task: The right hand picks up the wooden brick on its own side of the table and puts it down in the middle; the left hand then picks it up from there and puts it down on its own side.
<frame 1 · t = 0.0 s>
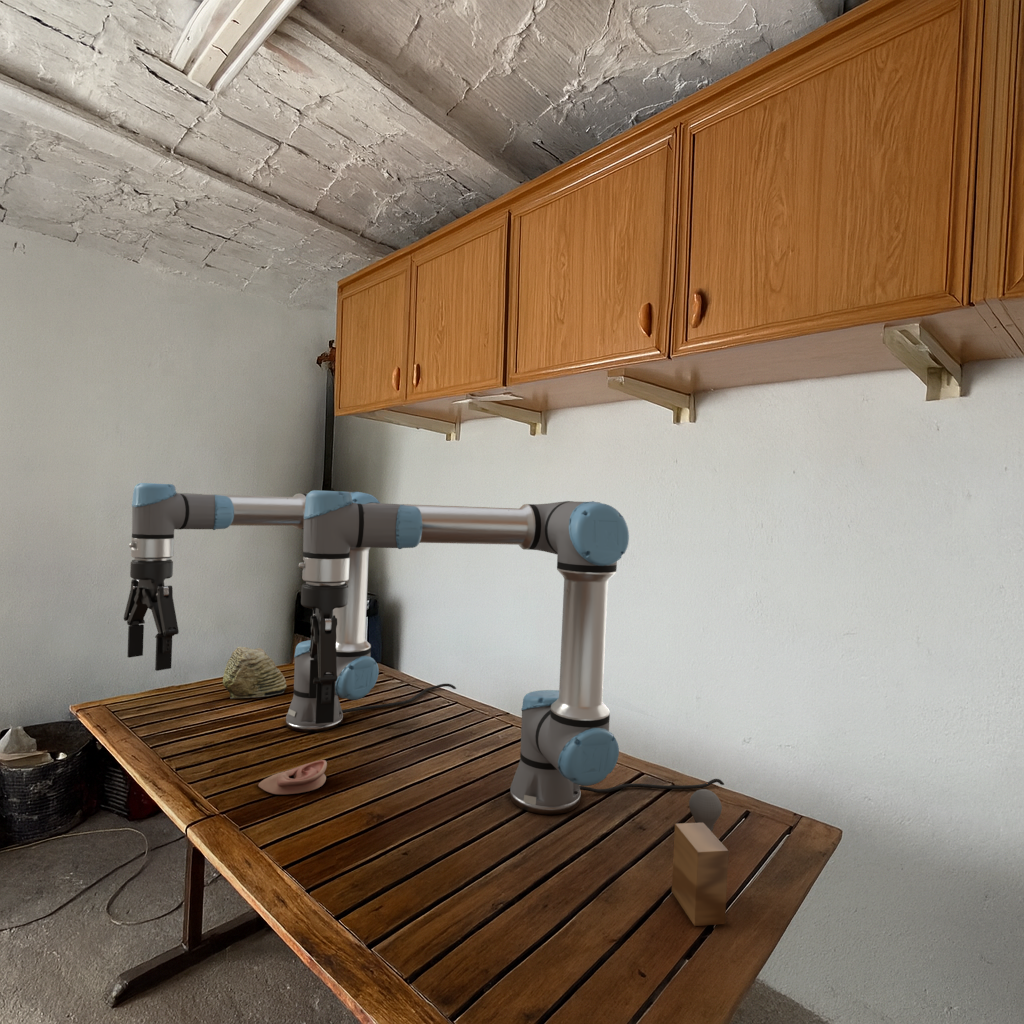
left hand: (148, 662, 129), 28 cm above the table, tool pointing down, fingers open, 13 cm apart
right hand: (320, 708, 106), 28 cm above the table, tool pointing down, fingers open, 13 cm apart
brick: (697, 907, 102), on the table
fossil: (254, 694, 198), on the table
anatomical model: (292, 784, 139), on the table
light bulb: (703, 842, 122), on the table
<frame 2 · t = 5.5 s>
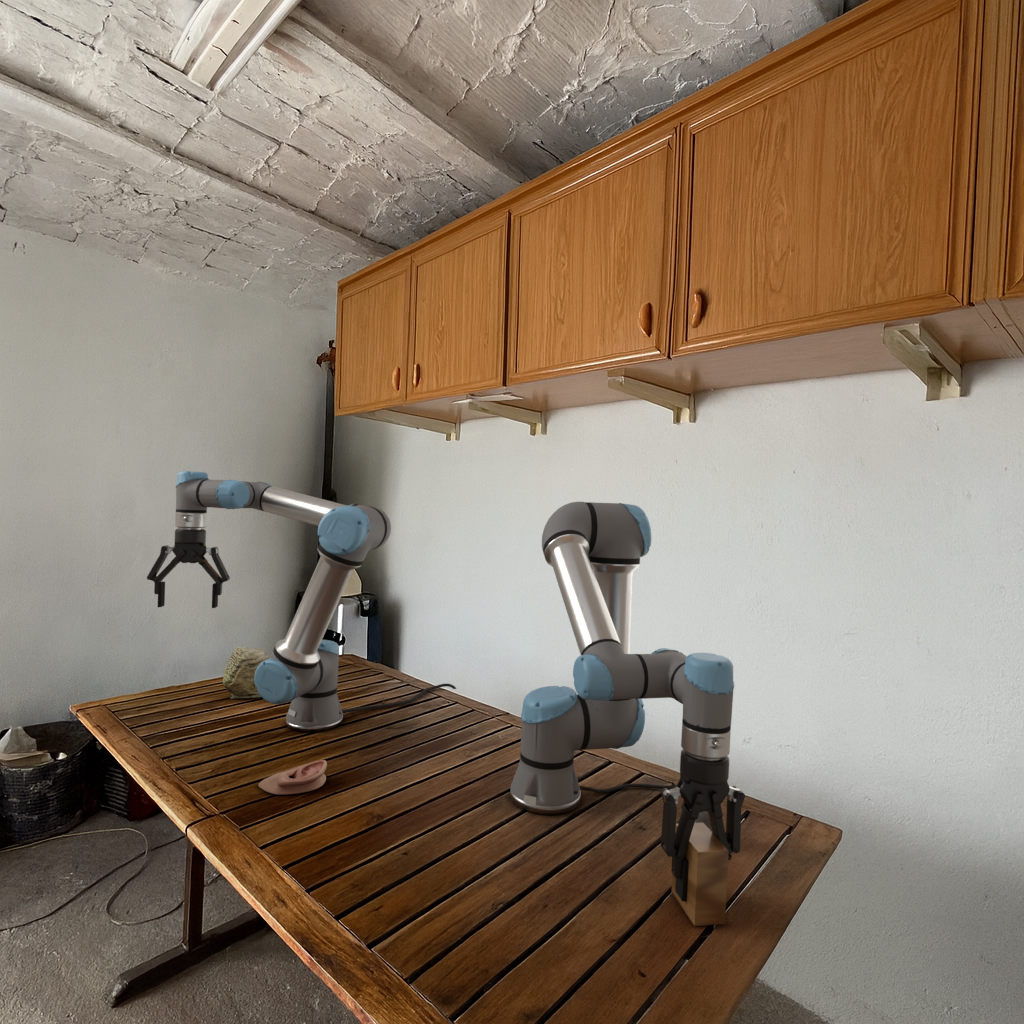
left hand: (188, 607, 171), 32 cm above the table, tool pointing down, fingers open, 13 cm apart
right hand: (697, 894, 102), 2 cm above the table, tool pointing down, fingers closed on brick, 5 cm apart
brick: (697, 907, 102), on the table, touching right hand
everything else where it was.
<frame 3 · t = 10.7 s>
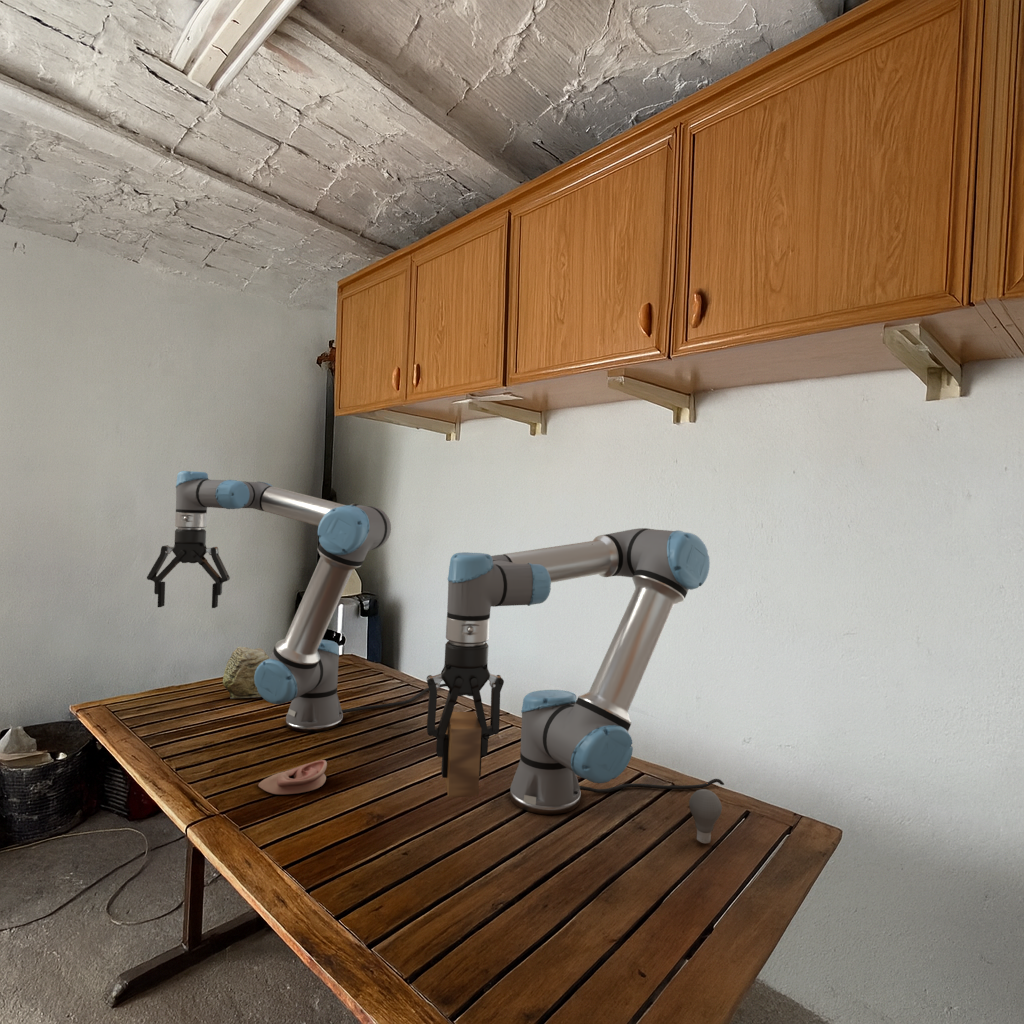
left hand: (188, 607, 171), 32 cm above the table, tool pointing down, fingers open, 13 cm apart
right hand: (460, 773, 111), 16 cm above the table, tool pointing down, fingers closed on brick, 5 cm apart
brick: (460, 785, 111), point 14 cm above the table, touching right hand
everything else where it was.
when the right hand's fingers open (4 cm above the table, at t = 15.9 s): brick drops 2 cm, on the table.
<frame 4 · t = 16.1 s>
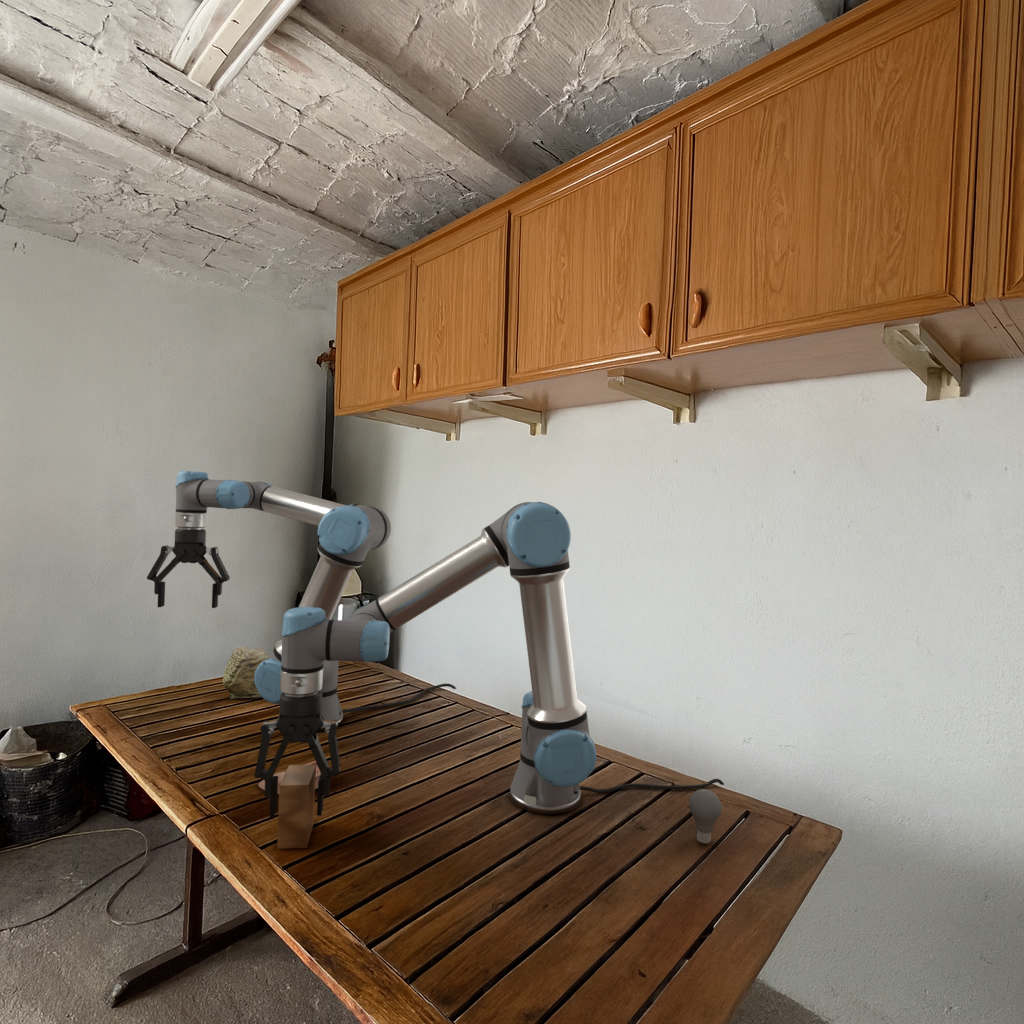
left hand: (188, 607, 171), 32 cm above the table, tool pointing down, fingers open, 13 cm apart
right hand: (296, 812, 118), 4 cm above the table, tool pointing down, fingers open, 8 cm apart
brick: (296, 835, 118), on the table
everything else where it was.
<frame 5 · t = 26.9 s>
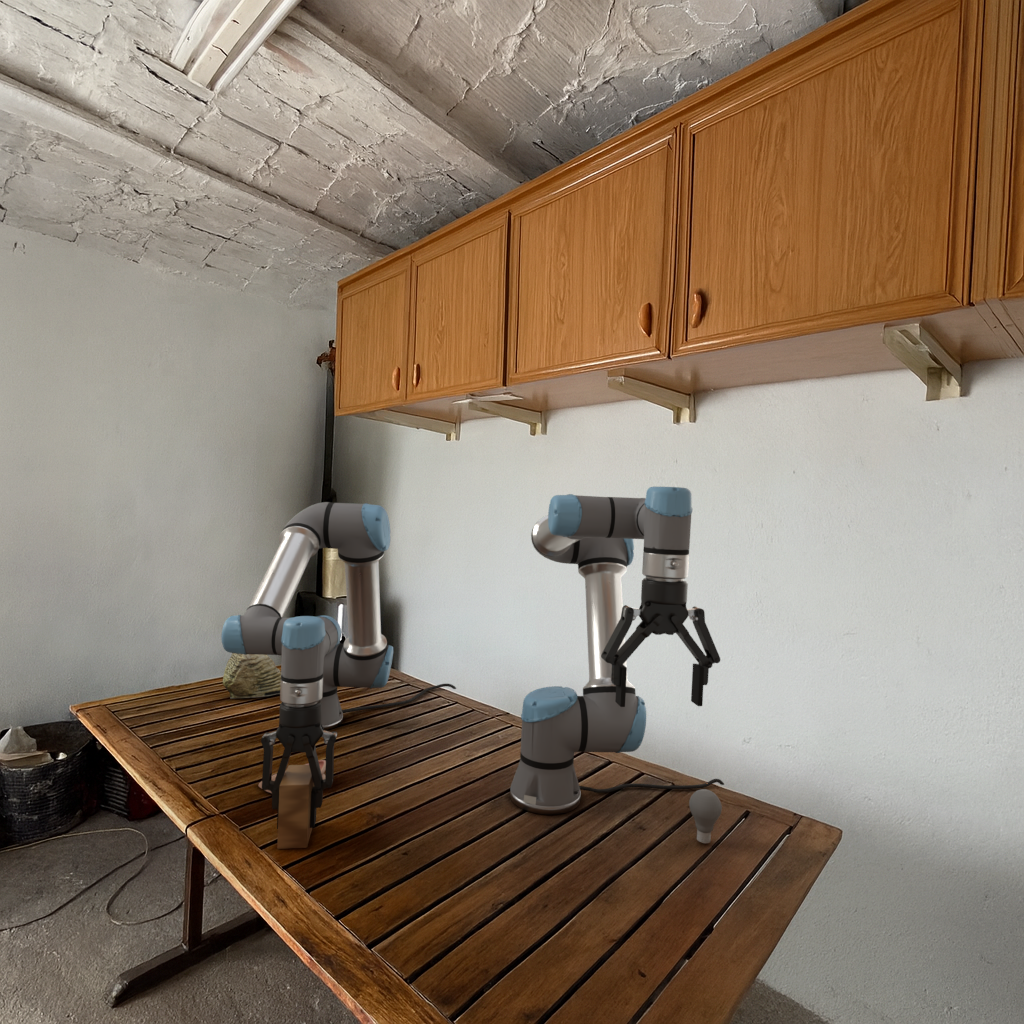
left hand: (296, 824, 118), 2 cm above the table, tool pointing down, fingers closed on brick, 5 cm apart
right hand: (658, 704, 107), 31 cm above the table, tool pointing down, fingers open, 13 cm apart
brick: (296, 835, 118), on the table, touching left hand
everything else where it was.
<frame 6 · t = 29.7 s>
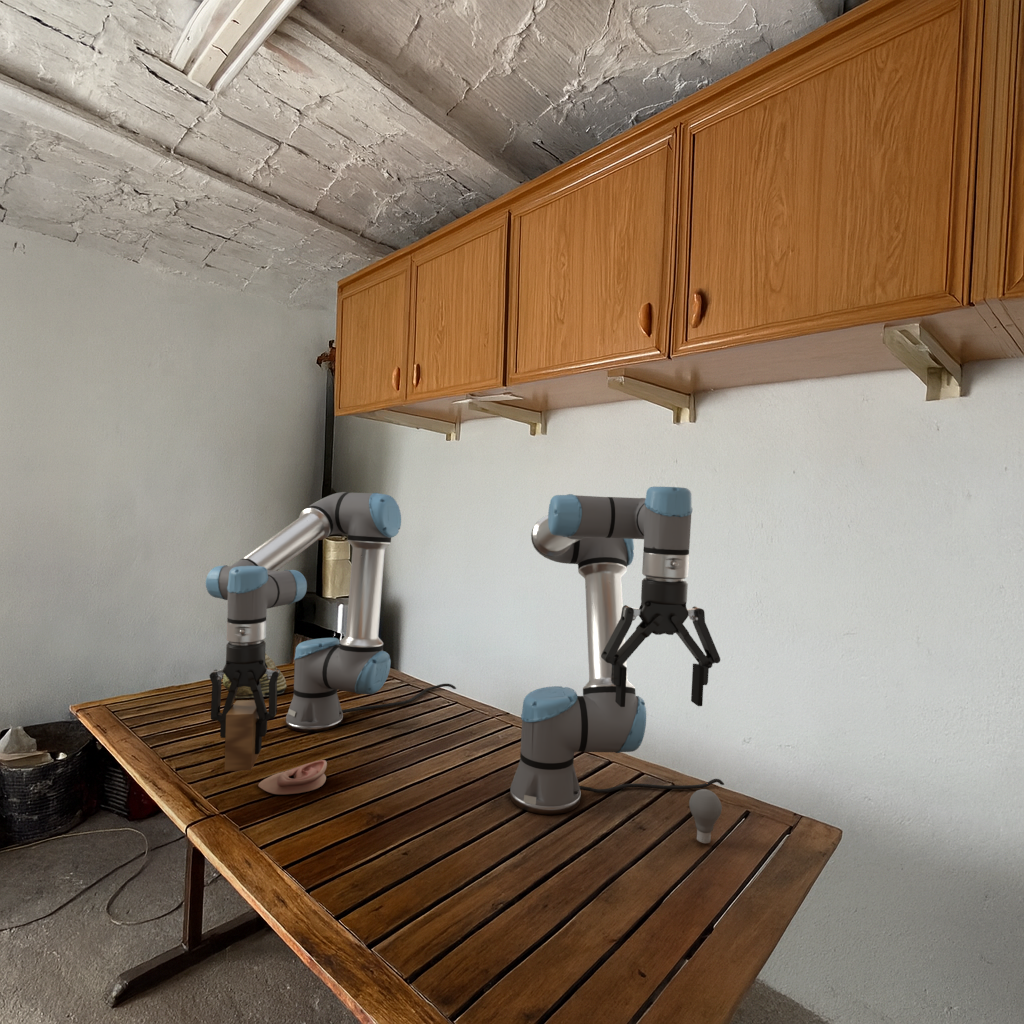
left hand: (243, 751, 132), 10 cm above the table, tool pointing down, fingers closed on brick, 5 cm apart
right hand: (658, 704, 107), 31 cm above the table, tool pointing down, fingers open, 13 cm apart
brick: (243, 761, 132), point 8 cm above the table, touching left hand
everything else where it was.
when the left hand's fingers open (4 cm above the table, at t = 32.5 s): brick drops 2 cm, on the table.
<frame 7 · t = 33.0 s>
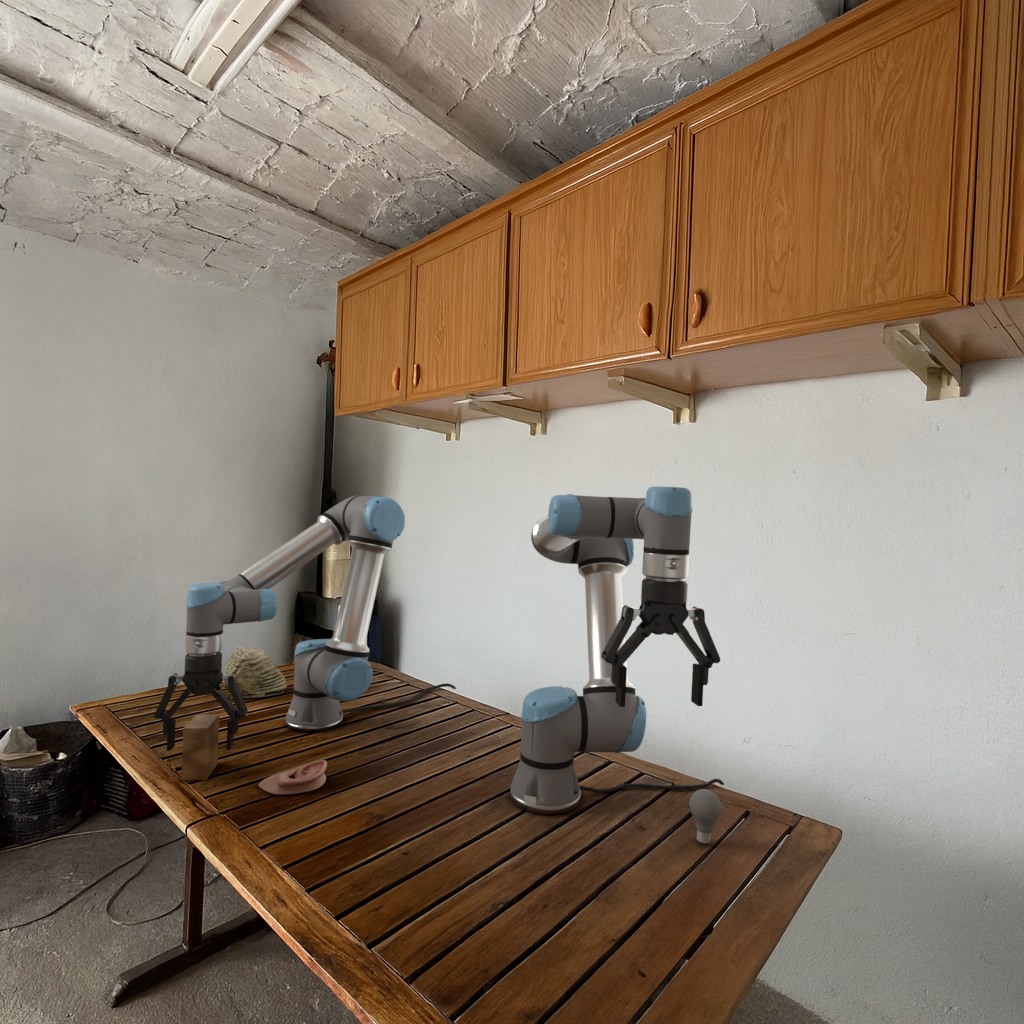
left hand: (200, 747, 143), 5 cm above the table, tool pointing down, fingers open, 12 cm apart
right hand: (658, 704, 107), 31 cm above the table, tool pointing down, fingers open, 13 cm apart
brick: (200, 771, 143), on the table
everything else where it was.
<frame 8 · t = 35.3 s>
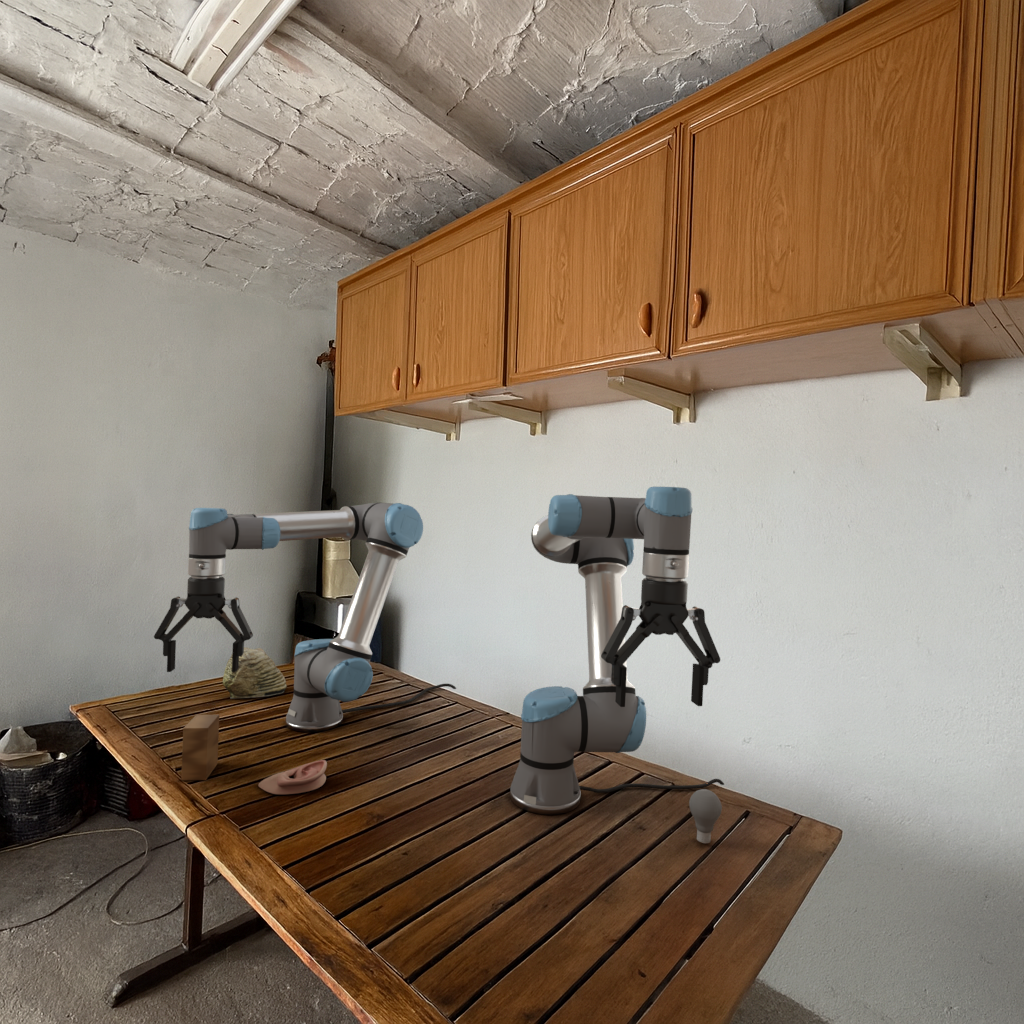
left hand: (203, 670, 143), 23 cm above the table, tool pointing down, fingers open, 13 cm apart
right hand: (658, 704, 107), 31 cm above the table, tool pointing down, fingers open, 13 cm apart
nothing on the table moved.
at the end: brick inside the target area (0.2 cm from its centre), on the table; brick tilted 0°; the two hands never held the brick at the same time; the left hand is holding nothing; the right hand is holding nothing; brick at rest at the end (0.0 cm/s) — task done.
